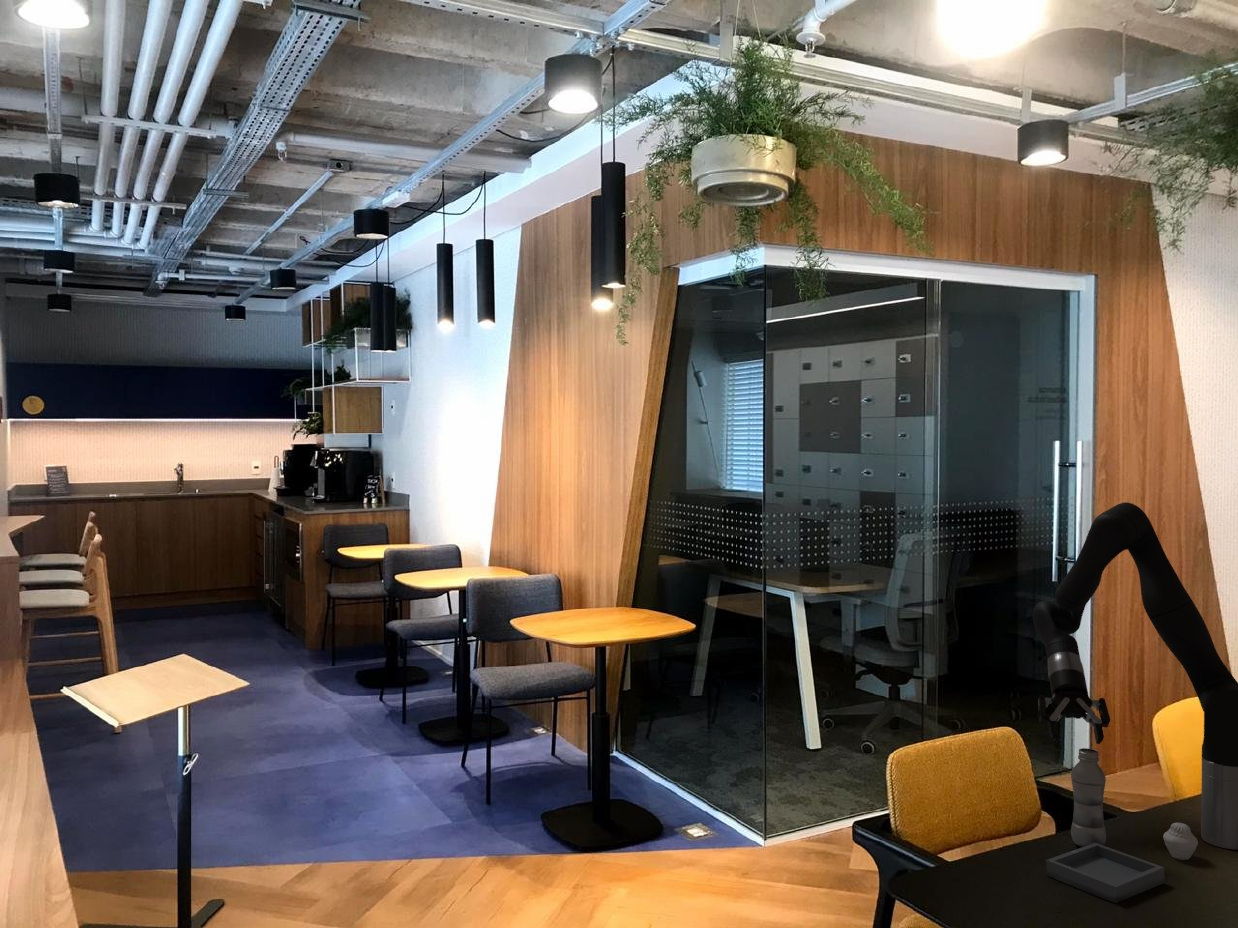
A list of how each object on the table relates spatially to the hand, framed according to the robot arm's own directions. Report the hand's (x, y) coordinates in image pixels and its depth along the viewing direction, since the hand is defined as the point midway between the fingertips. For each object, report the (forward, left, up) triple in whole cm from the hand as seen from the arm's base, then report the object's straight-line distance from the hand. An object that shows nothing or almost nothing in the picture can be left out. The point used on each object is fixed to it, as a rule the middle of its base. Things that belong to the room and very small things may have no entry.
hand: (1077, 740), depth 214 cm
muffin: (-4, +20, -19) cm, 28 cm away
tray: (+19, +18, -19) cm, 32 cm away
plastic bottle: (+7, +7, -19) cm, 22 cm away
